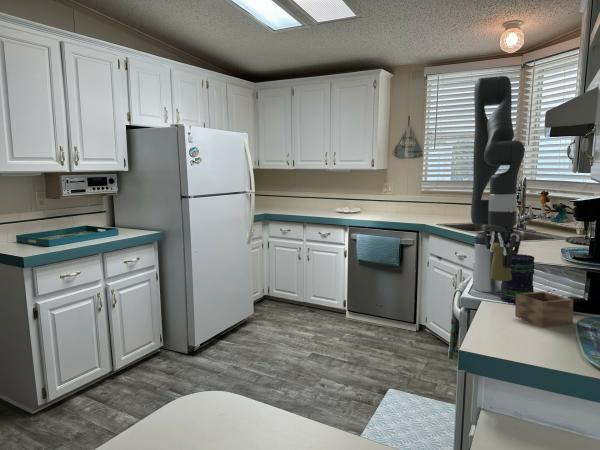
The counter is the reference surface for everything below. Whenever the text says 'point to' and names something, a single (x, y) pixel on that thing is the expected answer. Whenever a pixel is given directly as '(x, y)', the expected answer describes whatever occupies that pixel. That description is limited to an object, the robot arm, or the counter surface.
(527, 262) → the storage jar
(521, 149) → the robot arm
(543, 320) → the open walnut box
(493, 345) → the counter surface
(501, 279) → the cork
